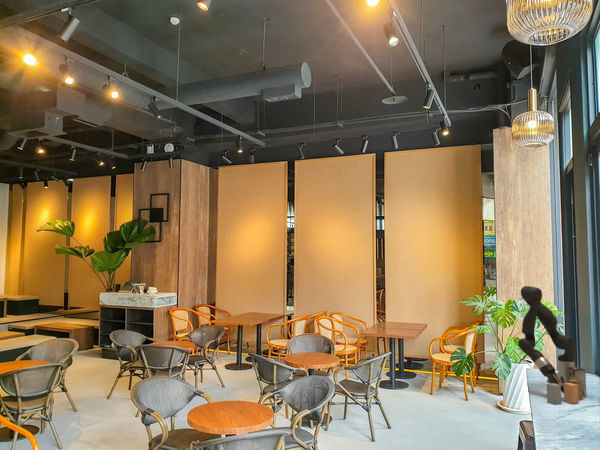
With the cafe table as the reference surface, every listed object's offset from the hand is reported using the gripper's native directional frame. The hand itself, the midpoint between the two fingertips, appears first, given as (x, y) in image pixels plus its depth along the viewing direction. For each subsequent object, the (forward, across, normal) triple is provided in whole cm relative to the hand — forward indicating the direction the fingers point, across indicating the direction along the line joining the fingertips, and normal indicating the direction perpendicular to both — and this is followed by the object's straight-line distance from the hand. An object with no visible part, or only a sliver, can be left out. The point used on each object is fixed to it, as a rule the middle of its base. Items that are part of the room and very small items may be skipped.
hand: (565, 392), depth 260 cm
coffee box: (0, +19, +7) cm, 21 cm away
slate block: (+3, -10, +4) cm, 11 cm away
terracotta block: (+6, 0, +1) cm, 6 cm away
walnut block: (+3, +10, +4) cm, 11 cm away
